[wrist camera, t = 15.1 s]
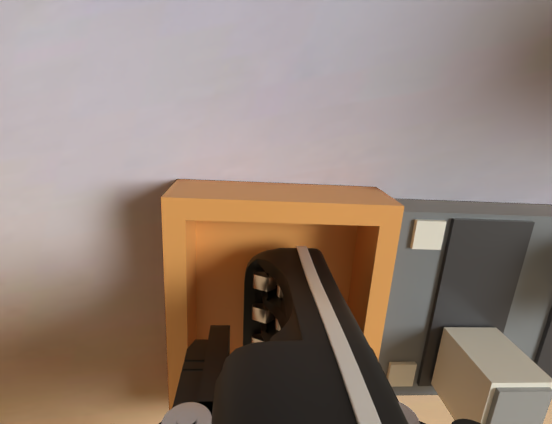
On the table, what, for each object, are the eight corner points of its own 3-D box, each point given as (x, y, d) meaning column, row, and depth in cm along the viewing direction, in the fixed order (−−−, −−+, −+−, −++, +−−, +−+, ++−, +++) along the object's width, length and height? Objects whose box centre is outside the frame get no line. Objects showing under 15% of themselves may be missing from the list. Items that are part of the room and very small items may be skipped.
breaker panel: (354, 365, 18) (368, 399, 16) (379, 198, 16) (399, 212, 14) (568, 364, 19) (606, 396, 17) (624, 207, 17) (677, 222, 15)
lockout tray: (182, 390, 18) (170, 444, 15) (177, 178, 15) (160, 197, 12) (347, 388, 19) (364, 440, 16) (376, 187, 16) (404, 206, 13)
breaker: (431, 383, 16) (476, 453, 13) (443, 327, 15) (495, 387, 12) (480, 383, 16) (537, 452, 13) (496, 327, 16) (560, 386, 12)
